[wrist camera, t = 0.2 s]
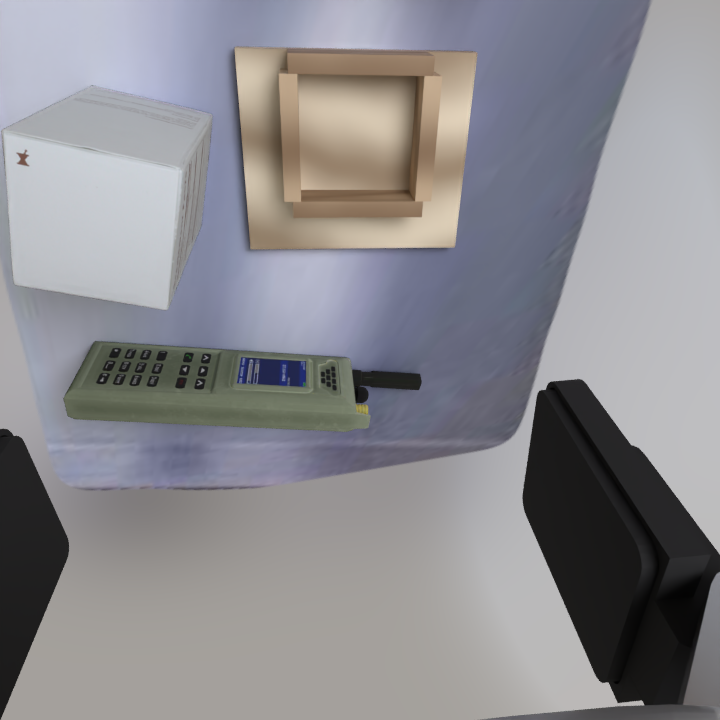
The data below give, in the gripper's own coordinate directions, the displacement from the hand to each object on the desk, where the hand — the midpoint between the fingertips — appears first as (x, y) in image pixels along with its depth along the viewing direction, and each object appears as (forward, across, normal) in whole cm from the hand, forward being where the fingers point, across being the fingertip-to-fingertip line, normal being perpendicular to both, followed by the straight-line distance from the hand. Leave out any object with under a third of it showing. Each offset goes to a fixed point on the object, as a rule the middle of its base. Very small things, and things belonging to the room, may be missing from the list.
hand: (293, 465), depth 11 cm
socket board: (+31, -3, +1) cm, 31 cm away
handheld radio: (+31, +4, +17) cm, 36 cm away
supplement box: (+31, +9, +1) cm, 32 cm away
